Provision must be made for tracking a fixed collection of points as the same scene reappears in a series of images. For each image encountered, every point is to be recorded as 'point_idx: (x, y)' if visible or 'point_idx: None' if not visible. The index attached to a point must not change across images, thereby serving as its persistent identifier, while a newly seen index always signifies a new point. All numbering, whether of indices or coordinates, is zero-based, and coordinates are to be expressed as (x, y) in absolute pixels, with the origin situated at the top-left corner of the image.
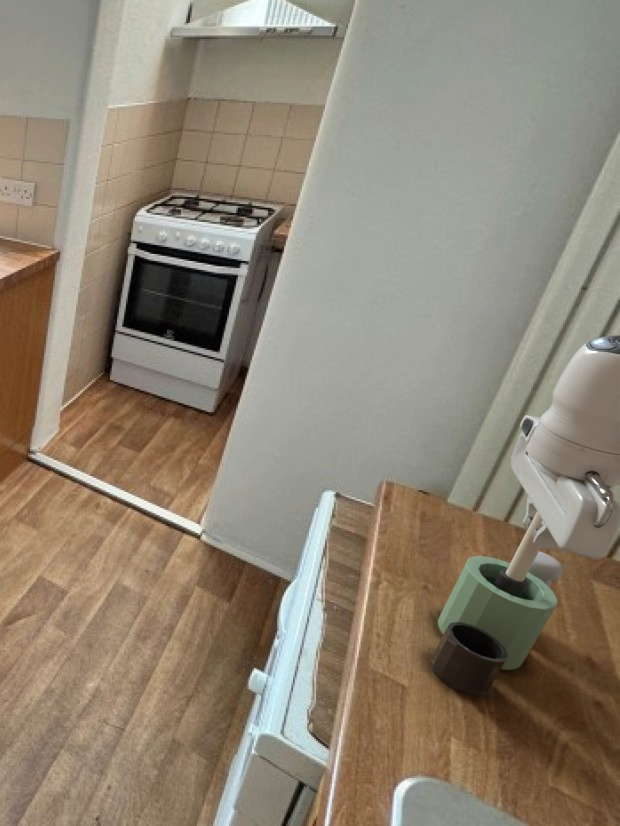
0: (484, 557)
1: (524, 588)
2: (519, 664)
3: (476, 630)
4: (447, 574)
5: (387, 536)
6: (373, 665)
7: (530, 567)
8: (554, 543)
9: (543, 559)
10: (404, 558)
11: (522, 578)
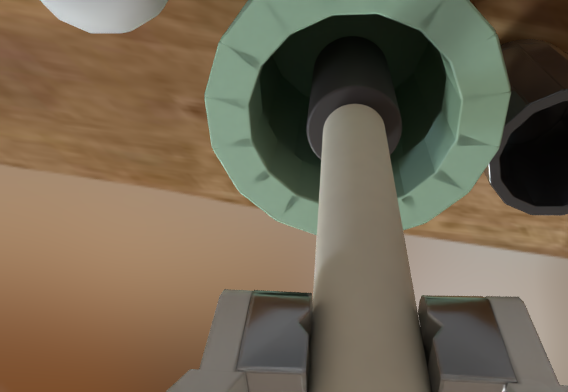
0: (234, 174)
1: (385, 87)
2: None
3: (504, 145)
4: (91, 48)
5: (38, 164)
6: (553, 242)
7: (163, 6)
8: (538, 344)
9: None
10: (106, 139)
11: (381, 125)
